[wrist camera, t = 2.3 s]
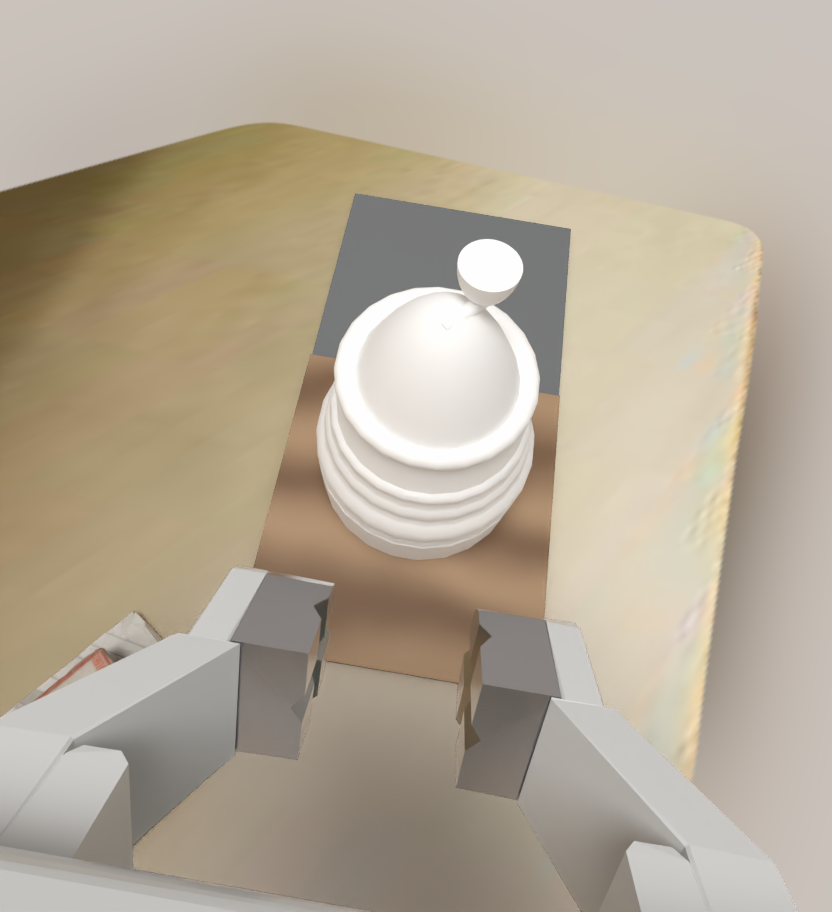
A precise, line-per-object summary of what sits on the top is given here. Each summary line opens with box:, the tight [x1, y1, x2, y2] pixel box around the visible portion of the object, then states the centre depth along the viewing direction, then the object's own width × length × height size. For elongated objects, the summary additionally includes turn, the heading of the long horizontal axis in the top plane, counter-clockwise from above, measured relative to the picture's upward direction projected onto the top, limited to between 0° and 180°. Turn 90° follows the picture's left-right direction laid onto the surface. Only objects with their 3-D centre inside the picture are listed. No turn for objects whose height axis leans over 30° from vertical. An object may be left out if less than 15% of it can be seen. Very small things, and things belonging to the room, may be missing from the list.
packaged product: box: [4, 610, 162, 846], centre depth 29 cm, size 18×5×10 cm
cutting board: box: [254, 354, 560, 683], centre depth 38 cm, size 20×18×1 cm
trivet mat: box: [312, 193, 571, 396], centre depth 45 cm, size 16×18×1 cm
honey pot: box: [316, 239, 540, 560], centre depth 30 cm, size 13×13×18 cm
